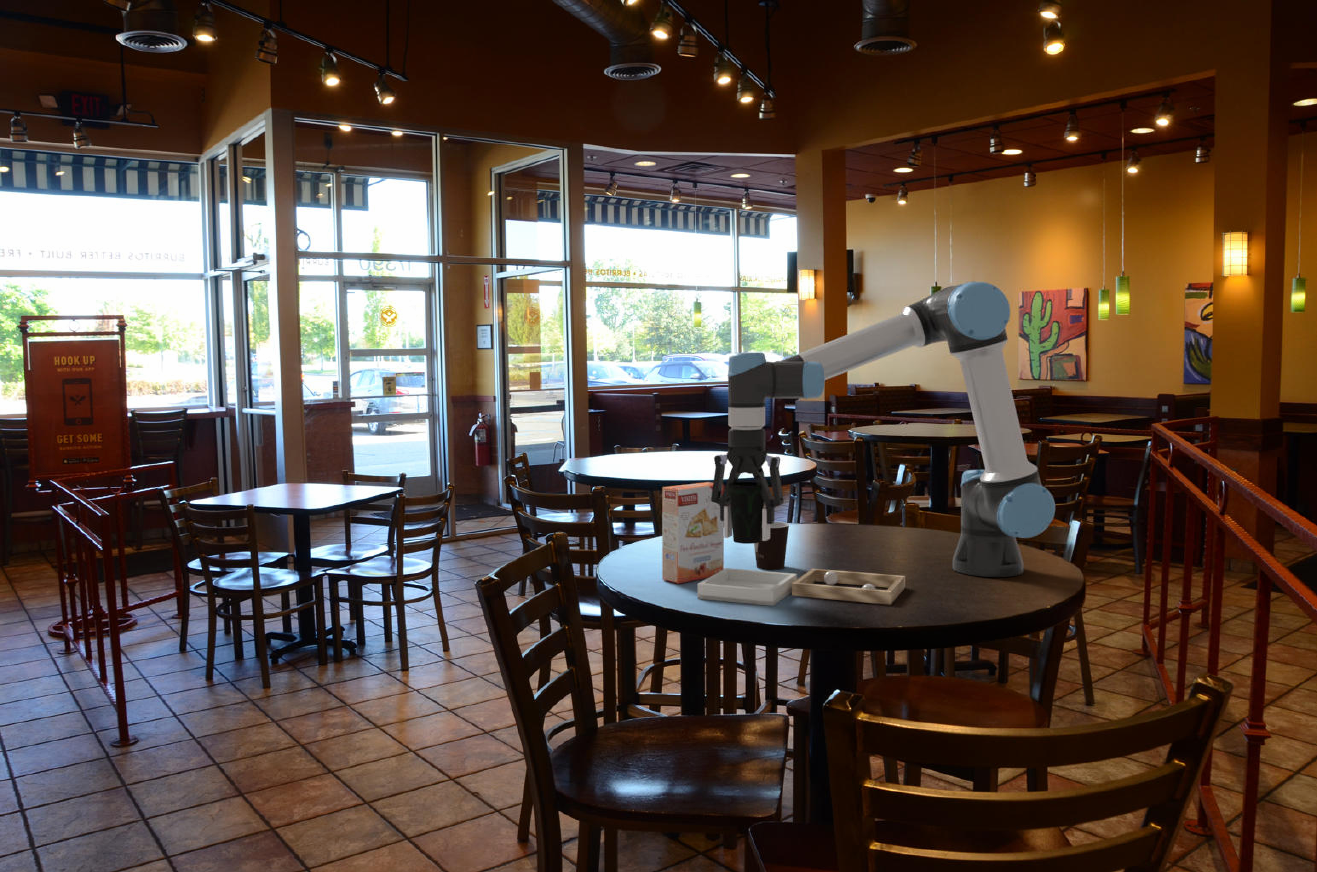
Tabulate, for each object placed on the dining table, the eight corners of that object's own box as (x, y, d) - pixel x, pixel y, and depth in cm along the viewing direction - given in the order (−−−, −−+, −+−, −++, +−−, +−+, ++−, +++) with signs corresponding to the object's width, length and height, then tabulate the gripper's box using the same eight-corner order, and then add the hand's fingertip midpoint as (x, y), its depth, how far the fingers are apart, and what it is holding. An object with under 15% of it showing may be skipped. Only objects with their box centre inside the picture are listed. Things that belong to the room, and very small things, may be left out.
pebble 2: (877, 597, 192) (877, 582, 192) (874, 601, 189) (874, 586, 189) (862, 596, 193) (862, 581, 193) (859, 599, 191) (859, 584, 191)
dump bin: (796, 587, 201) (796, 574, 201) (772, 605, 187) (772, 590, 187) (725, 581, 208) (725, 568, 208) (697, 598, 194) (697, 583, 193)
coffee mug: (787, 571, 217) (787, 528, 216) (750, 570, 219) (749, 527, 218) (791, 561, 228) (790, 519, 228) (755, 560, 230) (754, 519, 229)
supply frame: (904, 587, 200) (905, 576, 200) (890, 604, 186) (890, 592, 186) (812, 579, 208) (812, 568, 208) (792, 595, 195) (792, 583, 195)
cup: (742, 536, 202) (742, 480, 201) (772, 540, 197) (772, 482, 196) (721, 541, 196) (720, 484, 195) (752, 546, 191) (751, 486, 190)
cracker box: (679, 585, 206) (678, 489, 204) (661, 580, 210) (660, 486, 208) (726, 575, 215) (725, 483, 213) (707, 570, 219) (706, 480, 217)
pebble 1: (839, 584, 204) (839, 570, 204) (836, 587, 201) (836, 573, 201) (825, 582, 205) (826, 569, 205) (822, 585, 203) (822, 572, 203)
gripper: (800, 427, 194) (800, 538, 196) (707, 425, 202) (708, 531, 204) (789, 430, 187) (789, 544, 189) (693, 428, 196) (694, 537, 197)
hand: (747, 537), depth 197 cm, fingers closed on cup, 8 cm apart
